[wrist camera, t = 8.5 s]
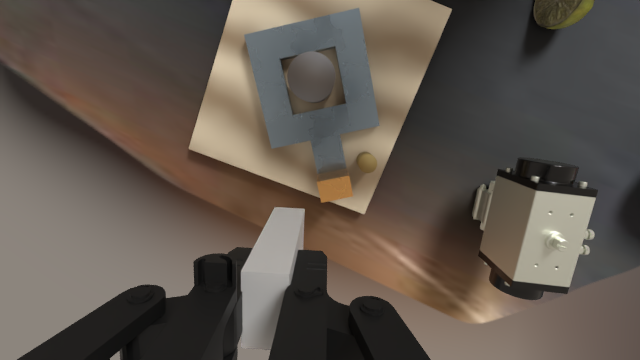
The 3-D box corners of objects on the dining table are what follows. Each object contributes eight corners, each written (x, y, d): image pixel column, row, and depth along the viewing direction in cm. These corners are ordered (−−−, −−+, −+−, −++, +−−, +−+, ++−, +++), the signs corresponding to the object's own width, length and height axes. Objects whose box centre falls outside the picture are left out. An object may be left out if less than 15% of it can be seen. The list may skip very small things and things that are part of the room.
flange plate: (246, 37, 33) (233, 24, 28) (357, 11, 32) (363, -7, 27) (285, 197, 36) (279, 211, 31) (386, 176, 35) (396, 187, 30)
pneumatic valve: (457, 249, 38) (514, 311, 27) (478, 148, 36) (553, 167, 24) (504, 254, 38) (583, 319, 27) (529, 154, 36) (628, 175, 24)
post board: (257, -67, 32) (237, -117, 25) (447, 12, 33) (480, -14, 26) (192, 147, 36) (160, 156, 29) (363, 211, 38) (371, 234, 31)
